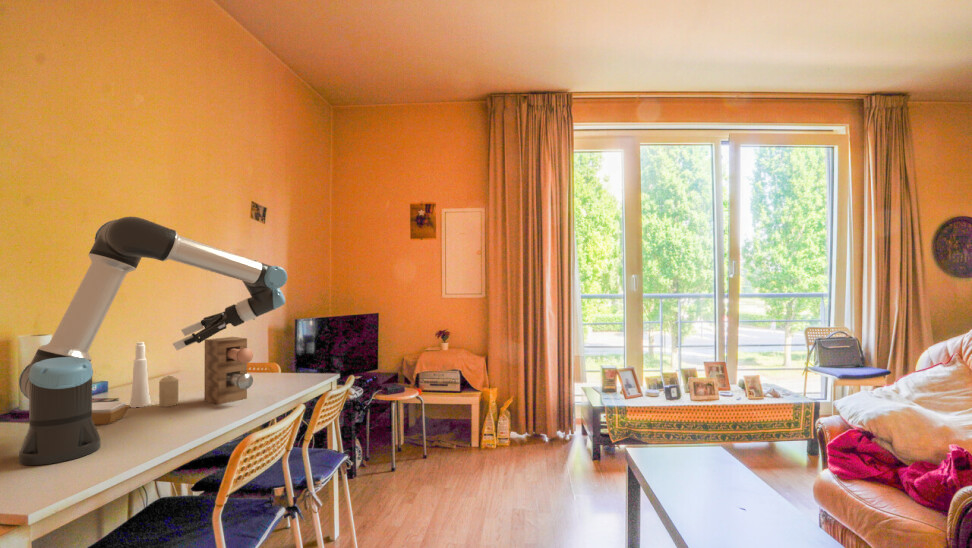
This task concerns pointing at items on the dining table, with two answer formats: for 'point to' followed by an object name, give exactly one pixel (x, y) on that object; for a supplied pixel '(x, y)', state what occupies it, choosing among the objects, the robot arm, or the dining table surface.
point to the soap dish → (108, 411)
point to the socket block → (223, 370)
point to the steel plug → (239, 380)
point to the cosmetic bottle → (140, 379)
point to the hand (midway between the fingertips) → (179, 339)
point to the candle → (168, 391)
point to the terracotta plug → (239, 354)
